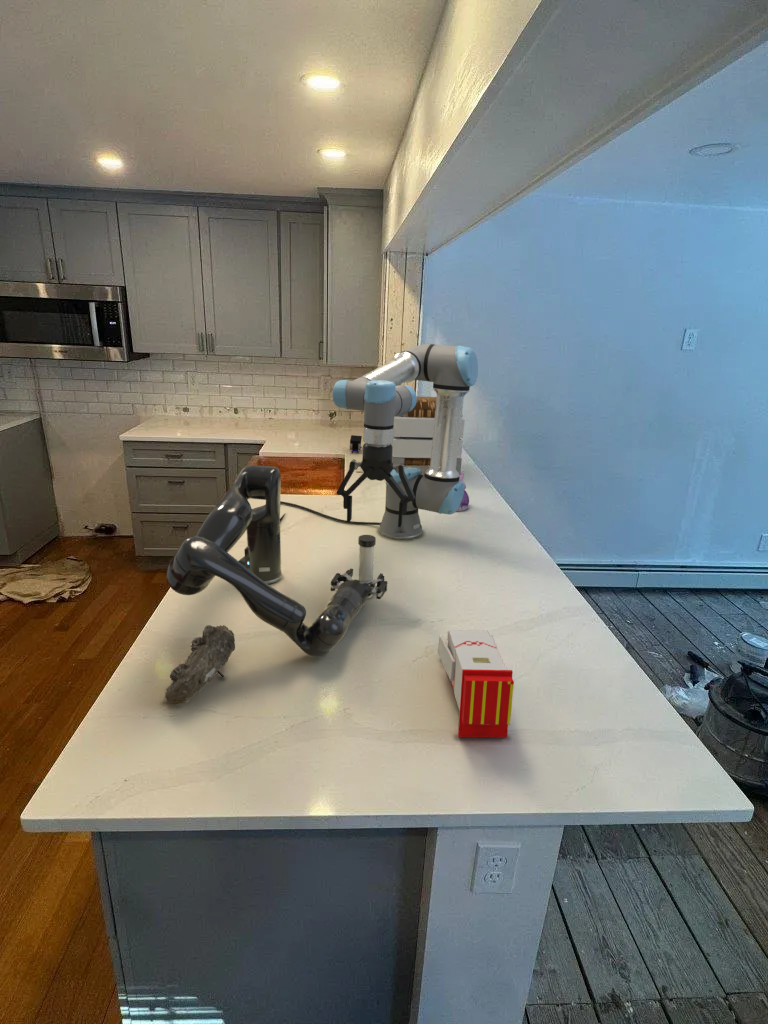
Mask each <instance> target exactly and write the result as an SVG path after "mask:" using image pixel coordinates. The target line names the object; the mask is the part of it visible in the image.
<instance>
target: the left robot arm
mask: <svg viewBox="0 0 768 1024" xmlns="http://www.w3.org/2000/svg"><path fill="white" fill-rule="evenodd" d="M281 491H282V475H281V471H280V469H279V468H278V467H277V466H271V465H257V464H247V465H245V466H243V467H242V468H241V470H240V471H239V472H238V474H237V476H236V478H235V480H234V481H233V483H232V485H231V486H230V487H229V488H228V490H227V492H226V493H225V494H224V495H223V496H222V498H221V499H220V500H219V501H218V502H217V503H216V504H215V506H214V507H213V508H212V510H210V512H209V513H208V515H207V516H206V518H205V519H204V521H203V522H202V524H201V526H200V528H199V529H198V531H197V532H196V535H194V536H189V537H187V538H186V539H185V540H183V542H182V543H181V545H180V546H179V547H178V549H177V551H176V552H175V553H174V555H173V556H172V557H171V559H170V560H169V563H168V565H167V567H166V574H165V577H166V581H167V584H168V585H169V587H170V588H171V589H172V591H174V592H175V593H177V594H179V595H182V596H193V595H197V594H200V593H201V592H203V591H204V590H205V589H207V588H208V587H209V585H210V584H211V583H212V581H213V580H214V579H215V577H218V578H220V579H222V580H223V581H225V582H227V583H228V584H230V585H231V586H232V587H233V588H234V589H235V590H236V591H237V592H238V593H239V594H240V596H241V597H242V599H243V600H244V603H246V605H247V607H248V608H249V609H250V610H251V612H252V613H253V614H254V615H255V616H256V617H257V618H258V619H259V620H261V621H263V622H264V623H266V624H267V625H270V626H271V627H273V628H275V629H277V630H278V631H281V632H283V633H284V634H285V635H286V636H287V637H288V638H289V639H290V640H291V641H292V642H293V643H294V644H295V645H296V646H297V647H298V648H299V649H300V650H301V651H302V652H303V653H305V654H306V655H307V656H309V657H313V658H323V657H325V656H327V655H328V654H329V653H330V652H332V650H333V649H334V648H335V647H336V646H337V644H338V643H339V642H341V640H342V639H343V638H344V636H345V635H346V633H347V632H348V629H349V625H350V624H351V623H352V621H353V619H354V618H355V617H356V616H357V615H358V614H359V612H360V611H361V609H362V607H363V606H364V605H365V603H366V602H367V600H368V598H367V597H369V596H371V595H372V596H374V597H375V598H376V600H381V599H382V598H383V596H384V595H385V594H386V593H387V591H388V581H387V580H385V577H386V576H385V575H384V573H379V575H378V576H377V577H376V579H373V580H372V579H370V580H367V581H359V580H358V579H354V578H353V576H354V568H350V569H348V570H346V571H345V572H344V573H342V574H341V572H337V573H335V574H334V576H333V578H332V579H331V581H330V591H331V592H334V593H333V594H332V596H331V598H330V599H329V602H328V603H327V604H326V605H325V606H324V608H323V610H322V612H321V614H319V615H318V617H317V618H316V619H315V620H314V621H313V622H312V623H311V625H309V626H308V625H306V624H305V622H304V621H305V619H306V616H307V609H306V607H305V606H304V605H303V604H302V603H300V602H298V601H296V600H295V599H292V597H290V596H288V595H287V594H284V593H283V592H281V591H279V590H277V589H276V588H274V587H272V586H271V585H272V584H275V583H276V582H279V581H280V580H281V579H282V553H281V552H282V548H281V547H282V546H281V545H282V544H281V522H280V518H281V504H280V501H281V495H282V494H281V493H282V492H281ZM249 500H262V501H265V504H264V505H261V506H257V507H254V508H252V506H251V504H250V502H249ZM245 533H246V547H245V548H244V549H243V550H244V556H242V557H241V558H240V559H236V558H235V557H234V556H233V555H231V554H230V553H229V551H231V549H232V548H233V547H234V546H235V545H236V544H237V543H238V541H240V539H241V538H242V537H243V535H244V534H245ZM270 584H271V585H270ZM369 584H370V586H369Z"/></svg>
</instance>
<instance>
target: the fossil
mask: <svg viewBox="0 0 768 1024" xmlns="http://www.w3.org/2000/svg"><path fill="white" fill-rule="evenodd" d="M201 634H202V635H201V636H198V637H197V636H196V637H195V638H193V639H192V641H191V644H190V651H191V652H190V653H189V655H188V656H187V658H186V660H185V663H179V664H178V665H177V666H175V667H174V668H173V670H171V671H170V674H169V679H170V680H171V681H172V682H171V683H170V685H169V686H168V687H166V689H165V701H166V702H167V703H170V704H172V705H177V704H178V705H179V704H183V703H187V702H189V701H191V699H192V698H193V697H194V696H196V695H197V694H198V693H199V692H200V691H201V690H202V689H203V688H205V687H206V686H207V685H208V684H209V683H210V682H211V680H212V678H213V677H214V676H215V675H217V674H218V675H219V676H220V677H221V678H222V679H224V678H225V676H224V675H225V674H223V673H222V672H221V671H220V669H221V667H223V666H225V665H226V664H227V662H228V661H229V658H230V657H231V655H232V653H233V651H235V649H236V643H235V642H236V640H235V633H234V632H233V630H231V629H229V627H228V626H226V625H225V624H224V625H221V624H220V625H217V626H213V625H211V624H210V625H209V624H208V625H205V626H204V629H203V630H202V633H201Z"/></svg>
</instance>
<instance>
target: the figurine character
mask: <svg viewBox="0 0 768 1024" xmlns="http://www.w3.org/2000/svg"><path fill="white" fill-rule="evenodd" d="M362 440H363V435H353V434H351V435H350V440H349V451H351V454H353V453H357V454H359V451H361V449H363V446H362Z"/></svg>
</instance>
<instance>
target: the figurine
mask: <svg viewBox="0 0 768 1024" xmlns="http://www.w3.org/2000/svg"><path fill="white" fill-rule="evenodd" d="M464 478H465V471H464V470H461V474H460V478H459V481H462V482H463V483H464V487H465V489H464V494H463V498H462V501H461V503H460V505H459V507H458V509H457V510H456V511H455V512H461V511H465V510H467V509H468V508H469V505H470V497H469V494H468V492H467V491H466V489H467V485H466V482H465V479H464Z"/></svg>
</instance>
